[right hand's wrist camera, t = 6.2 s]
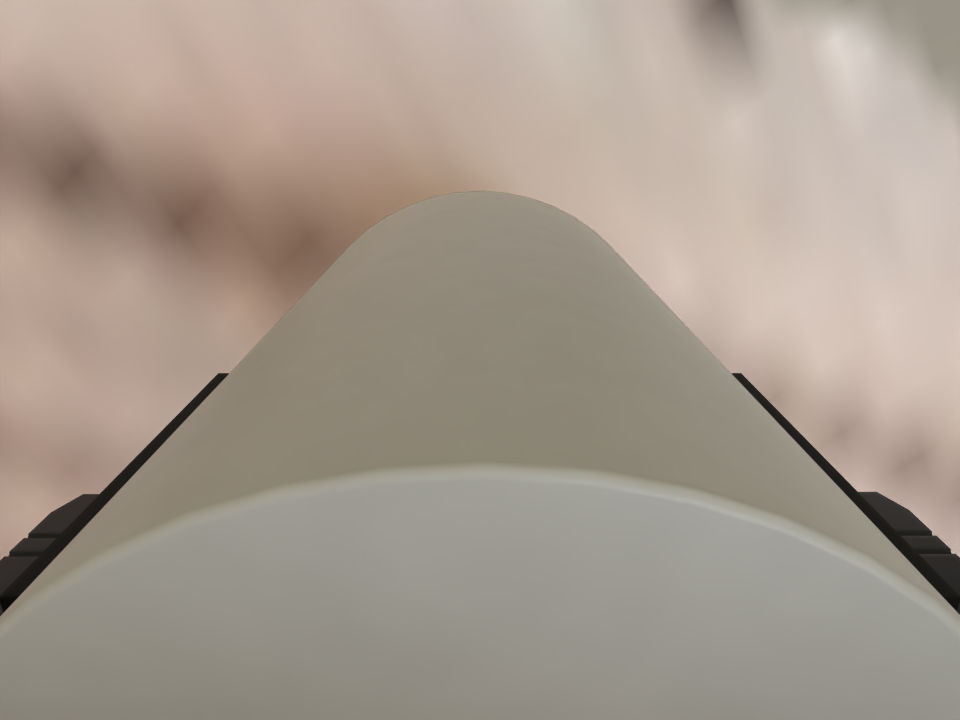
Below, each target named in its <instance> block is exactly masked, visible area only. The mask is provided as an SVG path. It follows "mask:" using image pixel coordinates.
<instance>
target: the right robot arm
mask: <svg viewBox="0 0 960 720" xmlns="http://www.w3.org/2000/svg"><path fill="white" fill-rule="evenodd" d="M731 374H732V375H733V376H734V377H735V378H736V379H737V380H738V381H739V382H740V383H741V384H742V385H743V386H744V387H745V389H746V390H747V391H748V392H749V393H750V394H751V395H752V396H753V397H754V398H755V399H756V400H757V401H758V402H759V403H760V404H761V405H762V406H763V408H764V409H765V410H766V411H767V412H768V413H769V414H770V415H771V416H772V417H773V418H774V419H775V420H776V421H777V422H778V423H779V424H780V426H781V427H782V428H783V429H784V430H785V431H786V432H787V433H788V434H789V435H790V436H791V437H792V438H793V439H794V440H795V441H796V442H797V443H798V445H799V446H800V447H801V448H802V449H803V450H804V451H805V452H806V453H807V454H808V455H809V456H810V457H811V458H812V459H813V460H814V461H815V462H816V464H817V465H818V466H819V467H820V468H821V469H822V470H823V471H824V472H825V473H826V474H827V475H828V476H829V477H830V478H831V479H832V480H833V482H834V483H835V484H836V485H837V486H838V487H839V488H840V489H841V490H842V491H843V492H844V493H845V494H846V495H847V496H848V497H849V498H850V499H851V501H852V502H853V503H854V504H855V505H856V506H857V507H858V508H859V509H860V510H861V511H862V512H863V513H864V514H865V515H866V516H867V517H868V518H869V520H870V521H871V522H872V523H873V524H874V525H875V526H876V527H877V528H878V529H879V530H880V531H881V532H882V533H883V534H884V535H885V536H886V538H887V539H888V540H889V541H890V542H891V543H892V544H893V545H894V546H895V547H896V548H897V549H898V550H899V551H900V552H901V553H902V554H903V555H904V557H905V558H906V559H907V560H908V561H909V562H910V563H911V564H912V565H913V566H914V567H915V568H916V569H917V570H918V571H919V572H920V573H921V574H922V576H923V577H924V578H925V579H926V580H927V581H928V582H929V583H930V584H931V585H932V586H933V587H934V588H935V589H936V590H937V591H938V592H939V593H940V595H941V596H942V597H943V598H944V599H945V600H946V601H947V602H948V603H949V604H950V605H951V606H952V607H953V608H954V609H955V610H956V611H957V613H958V614H959V615H960V558H959V557H958V556H957V555H956V554H951V549H950V548H949V547H948V546H947V545H946V544H945V543H943V542H942V541H941V540H940V539H939V538H938V537H937V536H932V531H931V530H930V529H929V528H927V527H926V526H925V525H924V524H923V523H922V522H921V521H920V520H919V519H918V518H917V517H916V516H915V515H914V514H913V513H911V512H910V511H909V510H908V509H906V508H904V507H903V506H901V505H899V504H897V503H895V502H894V501H892V500H890V499H888V498H887V497H885V496H883V495H881V494H879V493H878V492H857V491H856V490H855V489H854V488H853V487H852V486H851V485H850V484H849V483H848V482H847V481H846V480H845V479H844V478H843V477H842V476H841V475H840V473H839V472H838V471H837V470H836V469H835V468H834V467H833V466H832V465H831V464H830V463H829V462H828V461H827V460H826V459H825V458H824V457H823V456H822V455H821V454H820V453H819V452H818V451H817V450H816V449H815V448H814V447H813V446H812V445H811V444H810V443H809V442H808V441H807V440H806V439H805V438H804V437H803V436H802V435H801V434H800V433H799V432H798V431H797V430H796V429H795V428H794V427H793V426H792V425H791V424H790V423H789V422H788V421H787V420H786V419H785V418H784V417H783V415H782V414H781V413H780V412H779V411H778V410H777V409H776V408H775V407H774V406H773V405H772V404H771V403H770V402H769V401H768V400H767V399H766V398H765V397H764V396H763V395H762V394H761V393H760V392H759V391H758V390H757V389H756V388H755V387H754V386H753V385H752V384H751V383H750V382H749V381H748V380H747V379H746V378H745V377H744V376H743V375H742V374H741V373H731ZM228 375H229V373H218V374H217V375H216V376H215V377H214V378H213V379H212V380H211V381H210V382H209V384H208V385H207V386H206V387H205V388H204V389H203V390H202V391H201V392H200V393H199V394H198V395H197V396H196V397H195V398H194V399H193V400H192V401H191V402H190V403H189V404H188V405H187V406H186V407H185V408H184V409H183V410H182V411H181V412H180V413H179V414H178V415H177V416H176V417H175V418H174V419H173V420H172V421H171V422H170V423H169V424H168V425H167V426H166V427H165V428H164V429H163V430H162V431H161V432H160V433H159V434H158V435H157V436H156V437H155V438H154V439H153V440H152V441H151V443H150V444H149V445H148V446H147V447H146V448H145V449H144V450H143V451H142V452H141V453H140V454H139V455H138V456H137V457H136V458H135V459H134V460H133V461H132V462H131V463H130V464H129V465H128V466H127V467H126V468H125V469H124V470H123V471H122V472H121V473H120V474H119V475H118V476H117V477H116V478H115V479H114V480H113V481H112V482H111V483H110V484H109V485H108V486H107V487H106V488H105V489H104V490H103V491H102V492H101V493H100V494H83V495H81V496H79V497H78V498H76V499H74V500H72V501H71V502H69V503H67V504H65V505H64V506H62V507H60V508H58V509H56V510H55V511H53V512H51V513H50V514H49V515H48V516H47V517H46V518H45V519H44V520H43V521H42V522H41V523H39V524H38V525H37V526H36V527H35V528H34V529H33V530H32V531H31V532H30V533H29V534H28V535H29V536H28V538H24V539H23V540H21V541H20V542H19V543H18V544H17V545H16V546H15V547H14V548H13V549H12V550H11V551H10V552H9V553H10V554H9V556H8V557H3V558H2V559H1V560H0V616H1V615H2V614H3V613H4V612H5V611H6V610H7V609H8V608H9V607H10V606H11V605H12V604H13V602H14V601H15V600H16V599H17V598H18V597H19V596H20V595H21V594H22V593H23V592H24V591H25V590H26V589H27V588H28V587H29V585H30V584H31V583H32V582H33V581H34V580H35V579H36V578H37V577H38V576H39V575H40V574H41V573H42V572H43V571H44V570H45V569H46V567H47V566H48V565H49V564H50V563H51V562H52V561H53V560H54V559H55V558H56V557H57V556H58V555H59V554H60V553H61V552H62V550H63V549H64V548H65V547H66V546H67V545H68V544H69V543H70V542H71V541H72V540H73V539H74V538H75V537H76V536H77V535H78V534H79V532H80V531H81V530H82V529H83V528H84V527H85V526H86V525H87V524H88V523H89V522H90V521H91V520H92V519H93V518H94V517H95V516H96V514H97V513H98V512H99V511H100V510H101V509H102V508H103V507H104V506H105V505H106V504H107V503H108V502H109V501H110V500H111V499H112V497H113V496H114V495H115V494H116V493H117V492H118V491H119V490H120V489H121V488H122V487H123V486H124V485H125V484H126V483H127V482H128V481H129V479H130V478H131V477H132V476H133V475H134V474H135V473H136V472H137V471H138V470H139V469H140V468H141V467H142V466H143V465H144V464H145V463H146V461H147V460H148V459H149V458H150V457H151V456H152V455H153V454H154V453H155V452H156V451H157V450H158V449H159V448H160V447H161V446H162V444H163V443H164V442H165V441H166V440H167V439H168V438H169V437H170V436H171V435H172V434H173V433H174V432H175V431H176V430H177V429H178V428H179V426H180V425H181V424H182V423H183V422H184V421H185V420H186V419H187V418H188V417H189V416H190V415H191V414H192V413H193V412H194V411H195V409H196V408H197V407H198V406H199V405H200V404H201V403H202V402H203V401H204V400H205V399H206V398H207V397H208V396H209V395H210V394H211V393H212V391H213V390H214V389H215V388H216V387H217V386H218V385H219V384H220V383H221V382H222V381H223V380H224V379H225V378H226V377H227V376H228Z"/></svg>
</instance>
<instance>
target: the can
mask: <svg viewBox="0 0 960 720" xmlns="http://www.w3.org/2000/svg"><path fill="white" fill-rule="evenodd" d="M0 720H960V615H959V614H958V613H957V611H956V610H955V609H954V608H953V607H952V606H951V605H950V604H949V603H948V602H947V601H946V600H945V599H944V598H943V597H942V596H941V595H940V593H939V592H938V591H937V590H936V589H935V588H934V587H933V586H932V585H931V584H930V583H929V582H928V581H927V580H926V579H925V578H924V577H923V576H922V574H921V573H920V572H919V571H918V570H917V569H916V568H915V567H914V566H913V565H912V564H911V563H910V562H909V561H908V560H907V559H906V558H905V557H904V555H903V554H902V553H901V552H900V551H899V550H898V549H897V548H896V547H895V546H894V545H893V544H892V543H891V542H890V541H889V540H888V539H887V538H886V536H885V535H884V534H883V533H882V532H881V531H880V530H879V529H878V528H877V527H876V526H875V525H874V524H873V523H872V522H871V521H870V520H869V518H868V517H867V516H866V515H865V514H864V513H863V512H862V511H861V510H860V509H859V508H858V507H857V506H856V505H855V504H854V503H853V502H852V501H851V499H850V498H849V497H848V496H847V495H846V494H845V493H844V492H843V491H842V490H841V489H840V488H839V487H838V486H837V485H836V484H835V483H834V482H833V480H832V479H831V478H830V477H829V476H828V475H827V474H826V473H825V472H824V471H823V470H822V469H821V468H820V467H819V466H818V465H817V464H816V462H815V461H814V460H813V459H812V458H811V457H810V456H809V455H808V454H807V453H806V452H805V451H804V450H803V449H802V448H801V447H800V446H799V445H798V443H797V442H796V441H795V440H794V439H793V438H792V437H791V436H790V435H789V434H788V433H787V432H786V431H785V430H784V429H783V428H782V427H781V426H780V424H779V423H778V422H777V421H776V420H775V419H774V418H773V417H772V416H771V415H770V414H769V413H768V412H767V411H766V410H765V409H764V408H763V406H762V405H761V404H760V403H759V402H758V401H757V400H756V399H755V398H754V397H753V396H752V395H751V394H750V393H749V392H748V391H747V390H746V389H745V387H744V386H743V385H742V384H741V383H740V382H739V381H738V380H737V379H736V378H735V377H734V376H733V375H732V374H731V373H730V372H729V371H728V370H727V368H726V367H725V366H724V365H723V364H722V363H721V362H720V361H719V360H718V359H717V358H716V357H715V356H714V355H713V354H712V353H711V352H710V351H709V349H708V348H707V347H706V346H705V345H704V344H703V343H702V342H701V341H700V340H699V339H698V338H697V337H696V336H695V335H694V334H693V333H692V331H691V330H690V329H689V328H688V327H687V326H686V325H685V324H684V323H683V322H682V321H681V320H680V319H679V318H678V317H677V316H676V315H675V314H674V312H673V311H672V310H671V309H670V308H669V307H668V306H667V305H666V304H665V303H664V302H663V301H662V300H661V299H660V298H659V297H658V296H657V295H656V293H655V292H654V291H653V290H652V289H651V288H650V287H649V286H648V285H647V284H646V283H645V282H644V281H643V280H642V279H641V278H640V277H639V275H638V274H637V273H636V272H635V271H634V270H633V269H632V268H631V267H630V266H629V265H628V264H627V263H626V262H625V261H624V260H623V259H622V258H621V256H620V255H619V254H618V253H617V252H616V251H615V250H614V249H613V248H612V247H611V246H610V245H609V244H608V243H607V242H606V241H605V240H604V239H602V238H601V237H600V236H599V235H598V234H597V233H596V232H595V231H594V230H592V229H591V228H589V227H588V226H587V225H585V224H584V223H582V222H581V221H580V220H578V219H577V218H575V217H573V216H571V215H570V214H568V213H566V212H564V211H562V210H560V209H558V208H556V207H554V206H552V205H549V204H546V203H543V202H540V201H538V200H535V199H532V198H528V197H523V196H519V195H514V194H509V193H501V192H488V191H474V192H457V193H452V194H447V195H441V196H436V197H432V198H429V199H426V200H423V201H420V202H417V203H414V204H411V205H408V206H406V207H405V208H403V209H401V210H399V211H397V212H395V213H393V214H391V215H389V216H387V217H385V218H384V219H382V220H381V221H379V222H378V223H377V224H375V225H374V226H372V227H371V228H369V229H368V230H367V231H366V232H364V233H363V234H362V235H361V236H360V237H359V238H358V239H357V240H356V241H355V242H353V243H352V244H351V245H350V246H349V247H348V248H347V249H346V250H345V252H344V253H343V254H342V255H341V256H340V257H339V258H338V259H337V260H336V261H335V262H334V263H333V264H332V265H331V266H330V267H329V268H328V270H327V271H326V272H325V273H324V274H323V275H322V276H321V277H320V278H319V279H318V280H317V281H316V282H315V283H314V284H313V285H312V287H311V288H310V289H309V290H308V291H307V292H306V293H305V294H304V295H303V296H302V297H301V298H300V299H299V300H298V301H297V302H296V303H295V305H294V306H293V307H292V308H291V309H290V310H289V311H288V312H287V313H286V314H285V315H284V316H283V317H282V318H281V319H280V320H279V321H278V323H277V324H276V325H275V326H274V327H273V328H272V329H271V330H270V331H269V332H268V333H267V334H266V335H265V336H264V337H263V338H262V340H261V341H260V342H259V343H258V344H257V345H256V346H255V347H254V348H253V349H252V350H251V351H250V352H249V353H248V354H247V355H246V356H245V358H244V359H243V360H242V361H241V362H240V363H239V364H238V365H237V366H236V367H235V368H234V369H233V370H232V371H231V372H230V373H229V375H228V376H227V377H226V378H225V379H224V380H223V381H222V382H221V383H220V384H219V385H218V386H217V387H216V388H215V389H214V390H213V391H212V393H211V394H210V395H209V396H208V397H207V398H206V399H205V400H204V401H203V402H202V403H201V404H200V405H199V406H198V407H197V408H196V409H195V411H194V412H193V413H192V414H191V415H190V416H189V417H188V418H187V419H186V420H185V421H184V422H183V423H182V424H181V425H180V426H179V428H178V429H177V430H176V431H175V432H174V433H173V434H172V435H171V436H170V437H169V438H168V439H167V440H166V441H165V442H164V443H163V444H162V446H161V447H160V448H159V449H158V450H157V451H156V452H155V453H154V454H153V455H152V456H151V457H150V458H149V459H148V460H147V461H146V463H145V464H144V465H143V466H142V467H141V468H140V469H139V470H138V471H137V472H136V473H135V474H134V475H133V476H132V477H131V478H130V479H129V481H128V482H127V483H126V484H125V485H124V486H123V487H122V488H121V489H120V490H119V491H118V492H117V493H116V494H115V495H114V496H113V497H112V499H111V500H110V501H109V502H108V503H107V504H106V505H105V506H104V507H103V508H102V509H101V510H100V511H99V512H98V513H97V514H96V516H95V517H94V518H93V519H92V520H91V521H90V522H89V523H88V524H87V525H86V526H85V527H84V528H83V529H82V530H81V531H80V532H79V534H78V535H77V536H76V537H75V538H74V539H73V540H72V541H71V542H70V543H69V544H68V545H67V546H66V547H65V548H64V549H63V550H62V552H61V553H60V554H59V555H58V556H57V557H56V558H55V559H54V560H53V561H52V562H51V563H50V564H49V565H48V566H47V567H46V569H45V570H44V571H43V572H42V573H41V574H40V575H39V576H38V577H37V578H36V579H35V580H34V581H33V582H32V583H31V584H30V585H29V587H28V588H27V589H26V590H25V591H24V592H23V593H22V594H21V595H20V596H19V597H18V598H17V599H16V600H15V601H14V602H13V604H12V605H11V606H10V607H9V608H8V609H7V610H6V611H5V612H4V613H3V614H2V615H1V616H0Z"/></svg>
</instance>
